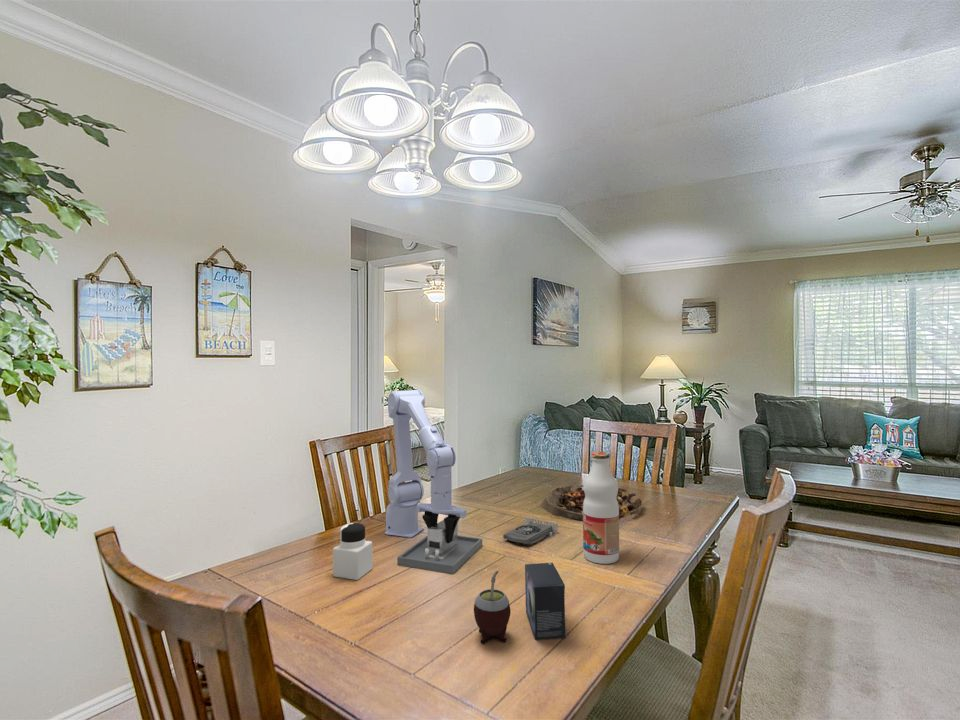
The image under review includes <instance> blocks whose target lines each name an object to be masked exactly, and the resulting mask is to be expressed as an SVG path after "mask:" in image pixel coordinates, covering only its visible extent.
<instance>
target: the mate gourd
mask: <svg viewBox="0 0 960 720" xmlns="http://www.w3.org/2000/svg"><path fill="white" fill-rule="evenodd" d="M498 574H499V570H497V571H495V572H494V573H493V575H492V576H491V580H490V583H491V586H490V589H485V590H482V591H480V592H479V593H478V594H477V597H476V598H475V600H474V604H473V615H474V621H475V623H476V626H477V627H478V632H479V633H480V634H481V640H480V644H482V645H485V644H487V643H488V642H489V641H491V640H492V639H494V640H496V641H498V642H500V643H503V644H505V643H506V642H507V638H505V636H506V633H507V630H508V629H507V628H508V624H509V621H510V617H511V606H510V600H509V598H508V596H507V595H506V593H505V592H504V591H501V590H499V589H495V583H496V577H497V575H498Z"/></svg>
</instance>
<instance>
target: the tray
mask: <svg viewBox="0 0 960 720" xmlns="http://www.w3.org/2000/svg"><path fill="white" fill-rule="evenodd" d="M427 536H428V534H427V535H426V536H425V537H423V538H422V539H421V540H419V541H418V542H416V543H415V544H414V545H412V546H411V547H409V548H408V549H407V550H406V551H404V552H403V553H402V554H400V555H398V556H397V557H396V558H397V559H396V560H397V563H396V564H397V566H403V567H408V568H414V569H420V570H426V571H432V572H437V573H445V574H449V575H450V574H451V575H454V574H455V573H456V572H457V571H458V570H459V569H460V568H461V567H462V566H464V564H465V563H466V562H467V561H469V560H470V558H472V556H473V555H475V553H476V552H477V551H478V550H480V549H481V548H482V547H483V538H482V537H481V538H480V537H472V536H465V535H458V543H457V544H455V545H454V546H452V547H451V548H449V549H448V550H446V551H445V552H443V553H442V554H441V553H439V550H435V552H430V551H429V548H427Z"/></svg>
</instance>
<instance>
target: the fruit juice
mask: <svg viewBox="0 0 960 720" xmlns="http://www.w3.org/2000/svg"><path fill="white" fill-rule="evenodd" d="M610 457H611V456H610V453H609V452H608V451H593V452H592V451H591V453H590V460H591V467H590V471H589V473H588V474H587V476H586V477H585V478H584V480H583V482H582V483H583V484H582V486H583V488H582V490H584V493H585V499H584V502H583V520H582V534H583V536H582V537H583V538H582V539H583V540H582V542H583V543H582V546H583V547H582V548H583V549H582V550H583V551H582V552H583V557H584V558H585V559H586V560H587V561H589V562H592V563H595V564H601V565H610V564H614V563H616V562H618V561H619V558H620V519H619V505H618V501H617V498H616V496H617V494H618V488H619V483H618V481H617V479H616V478H615V477H614V476H613V474H612V471H611V468H610V463H609V462H610V459H611V458H610Z"/></svg>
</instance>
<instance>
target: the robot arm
mask: <svg viewBox="0 0 960 720" xmlns="http://www.w3.org/2000/svg"><path fill="white" fill-rule="evenodd" d="M425 402H426V401H425V395H424V392H423V391H422V390H421V389H410V390H408V389H407V390H392V391H390V393H389V395H388V397H387V410H388V412H387V413H388V418H391V420H392V424H393V436H394V437H393V438H394V449H395V450H394V451H395V461H396V462H395V463H396V464H395V465H396V473H394V475H392V476H391V477H390V478H389V480H388V490H387V496H388V500H389V502H390V503H388V505H387V506H386V511H385V532H384V535H388V536H395V537H396V536H397V537H404V538H409V539H410V538H413V537H414V536H416V535H418V534H419V533H421V532H422V531H423V530H424V527H419V513H421V512H423V513H424V514H423V515H422V517H421V518H422V520H423V522H424V523H425V525H426V528H427V529H428V528H429V527H431V526H433V525H435V524H437V523H438V522H439V515H443V516H444V515H445V516H446V517H444V518H443V520H444V523H445V527H446V541H447V543H450V542H452V540H453V535H454V531H455V528H456V525H457V523H458V524H459V520H460V519H464V518H466V517H467V509H466V508H462V507H459V506H456V505H455V506H454V505H453V503H452V501H453V497H452V496H453V493H452V489H453V486H452V467H454V466H455V464H456V452H455V450H454V447H453V446H452V445H449V444H448V443H447V442H445V441H444V439H443V437H442V435H441V434H440V431H439V430H438V428H437V426H435V425H432V424H431V422H430V419H429V417H428V414H427V412H426V409H425ZM411 419H412V421H413V422H414V423H415V426H416V428H417V429H418V430H419V433H418V439H419V440H420V443H421V445H422V446H423V449H424V450H425V452H426V457H425V459H426V464H427V469H428V474H429V475H430V503H423V502H421V500H422V499H423V497H424V494H425V493H424V491H425V490H424V489H425V488H424V485H423V483H422V478H421V477H422V476H421V475H420V474H418V473H417V472H415V471H414V465H413V464H414V463H413V462H414V461H413V451H412V440H411V427H410V420H411Z"/></svg>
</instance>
